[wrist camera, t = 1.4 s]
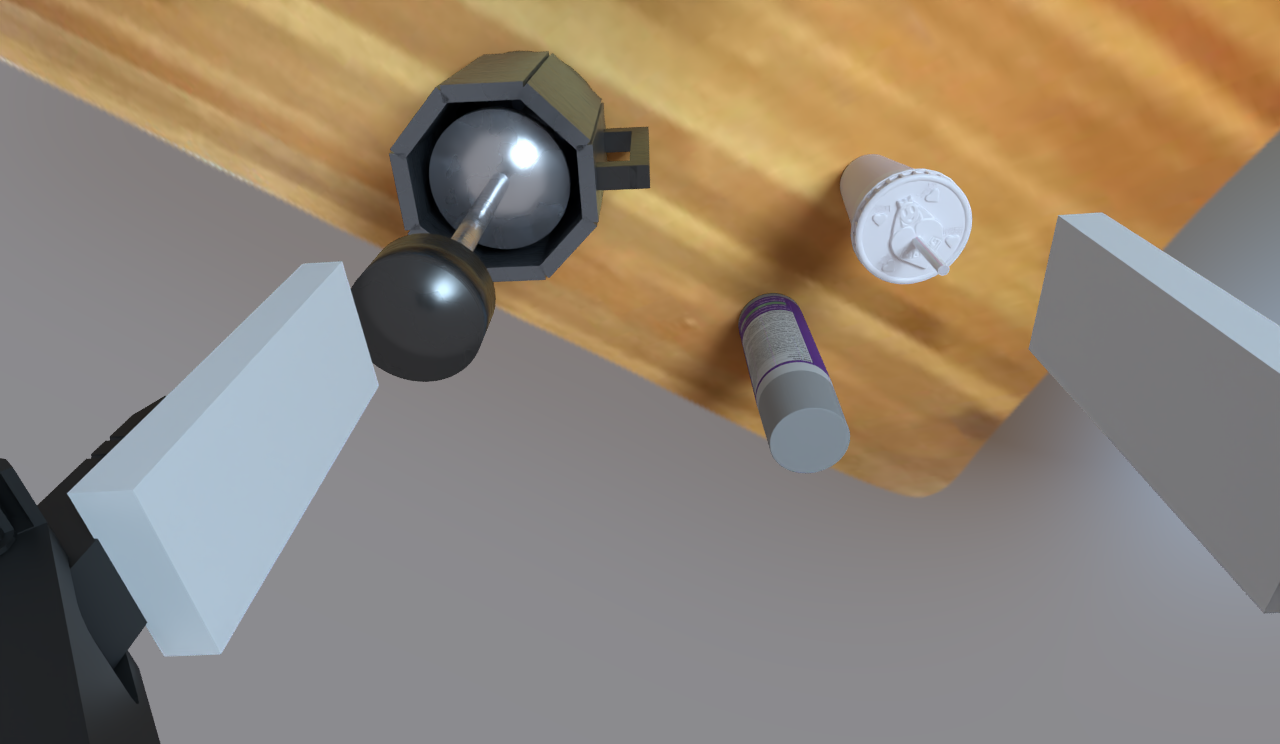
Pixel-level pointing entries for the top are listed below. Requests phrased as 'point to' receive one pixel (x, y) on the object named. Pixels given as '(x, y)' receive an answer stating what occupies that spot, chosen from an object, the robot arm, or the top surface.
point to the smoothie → (904, 219)
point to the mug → (564, 111)
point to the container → (791, 386)
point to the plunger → (461, 243)
